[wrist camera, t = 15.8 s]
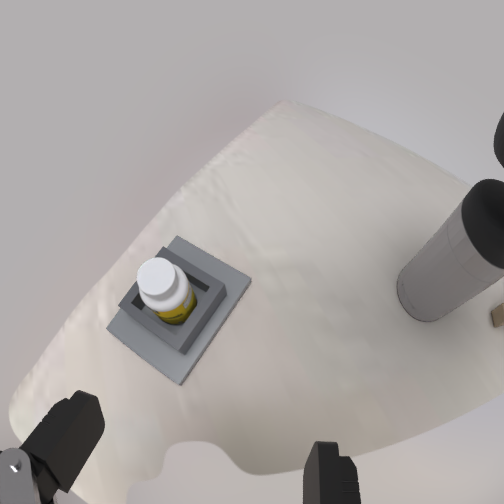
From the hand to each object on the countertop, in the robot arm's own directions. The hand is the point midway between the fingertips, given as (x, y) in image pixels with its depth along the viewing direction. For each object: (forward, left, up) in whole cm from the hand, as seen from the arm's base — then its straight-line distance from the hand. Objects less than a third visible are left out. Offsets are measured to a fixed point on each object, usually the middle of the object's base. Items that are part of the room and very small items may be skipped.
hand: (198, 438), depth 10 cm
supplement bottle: (+3, -15, -26) cm, 30 cm away
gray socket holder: (+4, -15, -27) cm, 31 cm away
